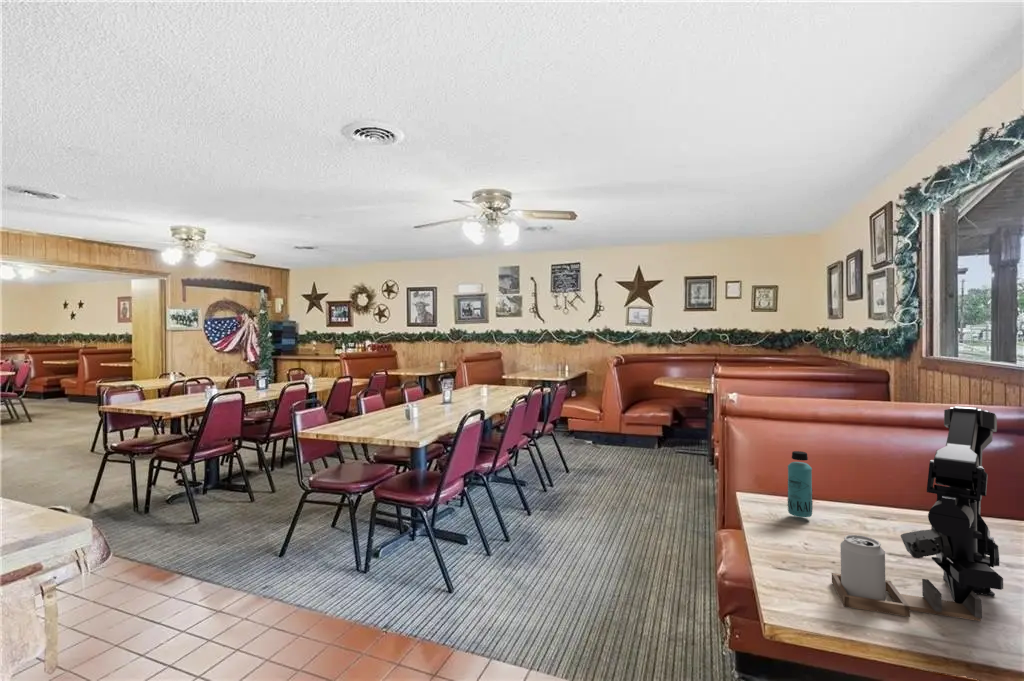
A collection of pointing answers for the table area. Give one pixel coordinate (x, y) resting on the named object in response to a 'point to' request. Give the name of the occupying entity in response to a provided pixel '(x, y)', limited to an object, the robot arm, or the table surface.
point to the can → (863, 567)
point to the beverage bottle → (799, 486)
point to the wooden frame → (913, 602)
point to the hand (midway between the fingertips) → (957, 602)
